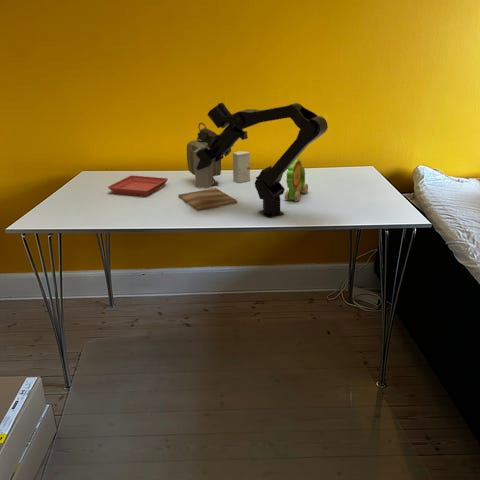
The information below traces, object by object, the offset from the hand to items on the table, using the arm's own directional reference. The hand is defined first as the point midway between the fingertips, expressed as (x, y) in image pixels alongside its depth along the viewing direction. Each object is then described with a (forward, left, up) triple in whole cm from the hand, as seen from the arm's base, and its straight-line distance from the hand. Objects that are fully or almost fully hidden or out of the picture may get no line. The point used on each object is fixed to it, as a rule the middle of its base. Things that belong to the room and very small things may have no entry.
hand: (200, 167), depth 171 cm
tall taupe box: (-1, -1, -7) cm, 7 cm away
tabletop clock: (+22, -11, -14) cm, 28 cm away
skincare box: (+17, -26, -14) cm, 34 cm away
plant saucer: (+29, +15, -14) cm, 36 cm away
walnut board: (+2, -3, -13) cm, 14 cm away
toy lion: (-13, -33, -14) cm, 38 cm away
